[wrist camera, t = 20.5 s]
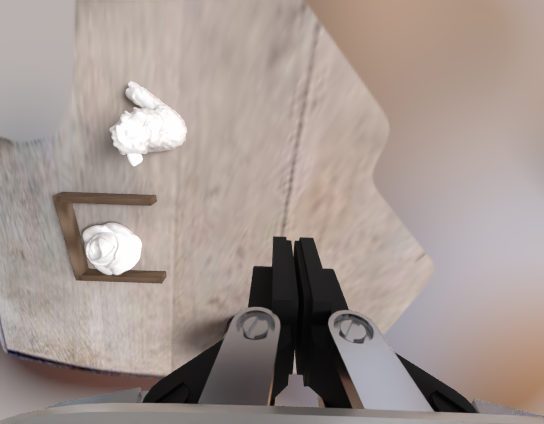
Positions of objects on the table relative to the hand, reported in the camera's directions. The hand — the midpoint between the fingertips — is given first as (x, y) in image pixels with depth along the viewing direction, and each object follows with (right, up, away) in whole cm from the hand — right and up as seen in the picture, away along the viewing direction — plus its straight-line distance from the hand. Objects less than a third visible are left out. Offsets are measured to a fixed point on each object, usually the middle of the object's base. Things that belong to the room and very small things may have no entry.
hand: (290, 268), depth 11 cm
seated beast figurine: (-17, +15, +26) cm, 34 cm away
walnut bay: (-26, -2, +32) cm, 41 cm away
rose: (-27, -3, +33) cm, 43 cm away
